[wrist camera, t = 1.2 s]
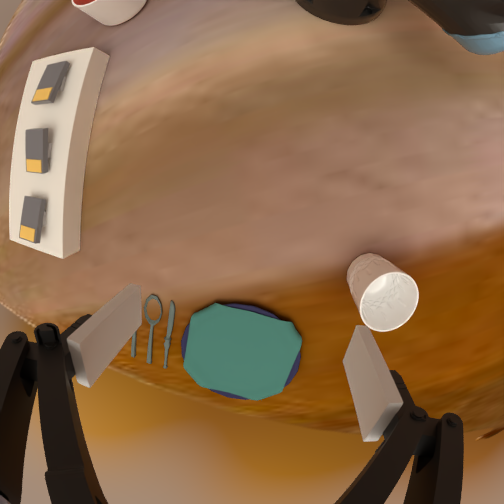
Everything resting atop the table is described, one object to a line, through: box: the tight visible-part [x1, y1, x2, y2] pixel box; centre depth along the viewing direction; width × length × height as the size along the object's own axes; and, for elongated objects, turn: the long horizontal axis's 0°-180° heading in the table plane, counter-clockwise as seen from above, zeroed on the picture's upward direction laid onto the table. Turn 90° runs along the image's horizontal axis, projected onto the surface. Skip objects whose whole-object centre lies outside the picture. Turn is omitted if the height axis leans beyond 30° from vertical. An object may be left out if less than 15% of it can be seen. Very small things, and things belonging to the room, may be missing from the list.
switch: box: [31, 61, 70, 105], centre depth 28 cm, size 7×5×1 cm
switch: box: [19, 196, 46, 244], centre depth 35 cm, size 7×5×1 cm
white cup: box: [347, 253, 419, 331], centre depth 35 cm, size 8×8×10 cm
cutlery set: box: [131, 295, 302, 400], centre depth 45 cm, size 20×30×2 cm, turn 76°
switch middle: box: [25, 128, 48, 174], centre depth 32 cm, size 7×5×1 cm
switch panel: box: [9, 47, 110, 259], centre depth 36 cm, size 34×16×6 cm, turn 169°
